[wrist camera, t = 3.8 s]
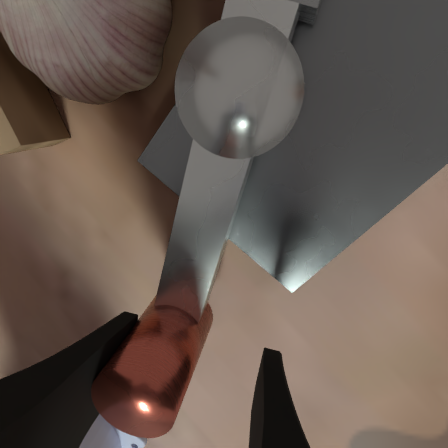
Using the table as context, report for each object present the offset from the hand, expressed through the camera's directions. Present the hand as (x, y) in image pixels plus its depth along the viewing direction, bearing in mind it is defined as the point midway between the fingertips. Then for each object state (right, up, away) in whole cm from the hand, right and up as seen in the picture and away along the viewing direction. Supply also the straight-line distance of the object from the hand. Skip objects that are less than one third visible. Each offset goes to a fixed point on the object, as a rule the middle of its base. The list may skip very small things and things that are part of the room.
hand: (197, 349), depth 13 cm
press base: (+4, +9, 0) cm, 10 cm away
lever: (+1, +7, 0) cm, 7 cm away
